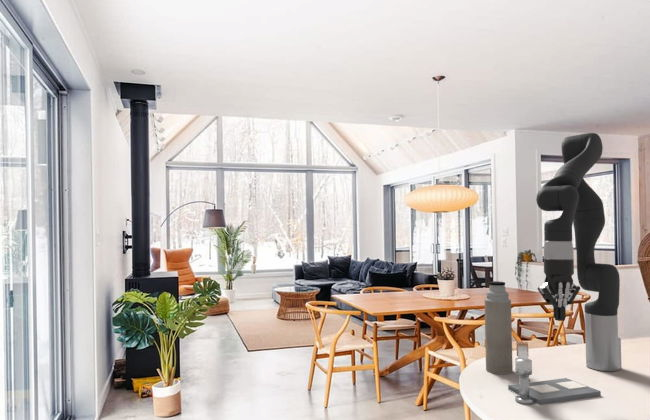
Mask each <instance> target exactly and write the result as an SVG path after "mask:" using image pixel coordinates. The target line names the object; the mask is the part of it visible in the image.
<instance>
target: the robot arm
mask: <svg viewBox="0 0 650 420" xmlns="http://www.w3.org/2000/svg"><path fill="white" fill-rule="evenodd" d="M603 146H604V145H603V142H602V139H601V136H600V135H599V134H598V133H596V132H587V133H586V132H585V133H582V134H576V135H571V136H565V137H563V139H562V142H561V155H562V160H563V164H562V165H561V166H560V167H559V168H558V170H557V171H556V172H555V174H554V176H553V178H551V179H550V180H549V181H547V182H546V183H545V184H543V185H542V186H541V187H540V188H539V190H538V191H537V194H536V200H535V201H536V204H537V207H538V208H539V209H540V210H542V211H544V212H561V215H560V216H559V217H557V218H554V219H549V220H547V221H545V222H544V226H543V229H544V231H543V233H544V234H543V235H544V239H543V240H544V243H543V274H544V275H545V278H544V283H543V284H542V286H538V287H537V291H538V292H539V294H540V295H541V296H542V298H543V299H544V301H545V303H546V304H547V305H551V306H552V307H553V310H552V311H553V319H554V320H555V321H558V322H564V321H565V320H566V317H567V316H566V315H567V314H566V310H567V309H566V308H567V306H568V305H573V302H574V301H575V299H576V297H577V296H578V294H579V292H580V290H581V289H583V290H584V291H588V292H595V293H598V294H597V296H598V297H597V299H595V300H593V301H589V302H587V303H585V304H584V336H585V339H584V340H585V365H586V367H588V368H590V369H592V370H596V371H602V372H617V371H619V370H620V369H622V368H623V367H622V338H620V337H619V321H618V320H619V319H618V311H619V310H618V309H619V305H620V290H621V289H620V286H621V283H620V282H621V279H620V273H619V271H618V268H617V267H616V266H615V265H613V264H609V263H597V262H596V259H595V247H596V244H597V241H598V239H599V238H600V236H601V234H602V231H603V230H604V227H605V224H606V217H605V215H606V214H605V208H604V202H603V200H602V199H601V197H600V196H599V195H598V193H596V192H595V190H594V189H593V187H591V186H590V185H589V184H588V182H586V180H585V179H584V177H585V175H586V174H587V173H588V172H589V171H590V170H591V169H592V168H593V166H595V164H596V163H597V162H598V161H599V160H600V159H601V157H602V155H603V149H604V147H603ZM573 230H574V237H575V248H576V273H577V281H578V285H576V284H575V283H574V279H573V275H575V274H574V273H575V266H574V265H575V263H574V262H575V257H574V253H575V252H574V245H573Z"/></svg>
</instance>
